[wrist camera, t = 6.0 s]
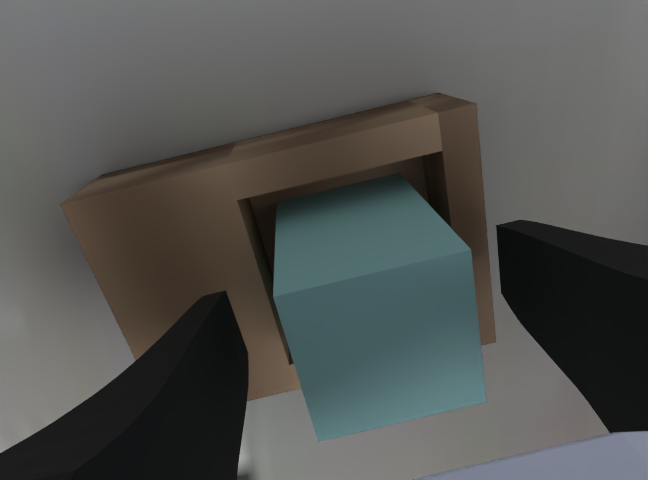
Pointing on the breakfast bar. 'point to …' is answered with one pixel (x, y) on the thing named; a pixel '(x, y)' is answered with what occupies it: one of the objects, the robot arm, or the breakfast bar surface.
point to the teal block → (376, 306)
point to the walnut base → (267, 219)
